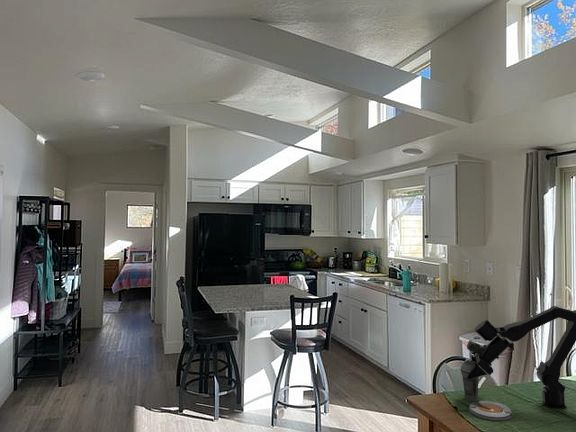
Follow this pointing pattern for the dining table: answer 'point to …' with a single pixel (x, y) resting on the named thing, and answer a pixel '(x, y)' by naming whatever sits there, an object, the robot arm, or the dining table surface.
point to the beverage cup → (469, 380)
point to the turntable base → (491, 418)
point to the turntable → (490, 409)
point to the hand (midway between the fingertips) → (466, 375)
